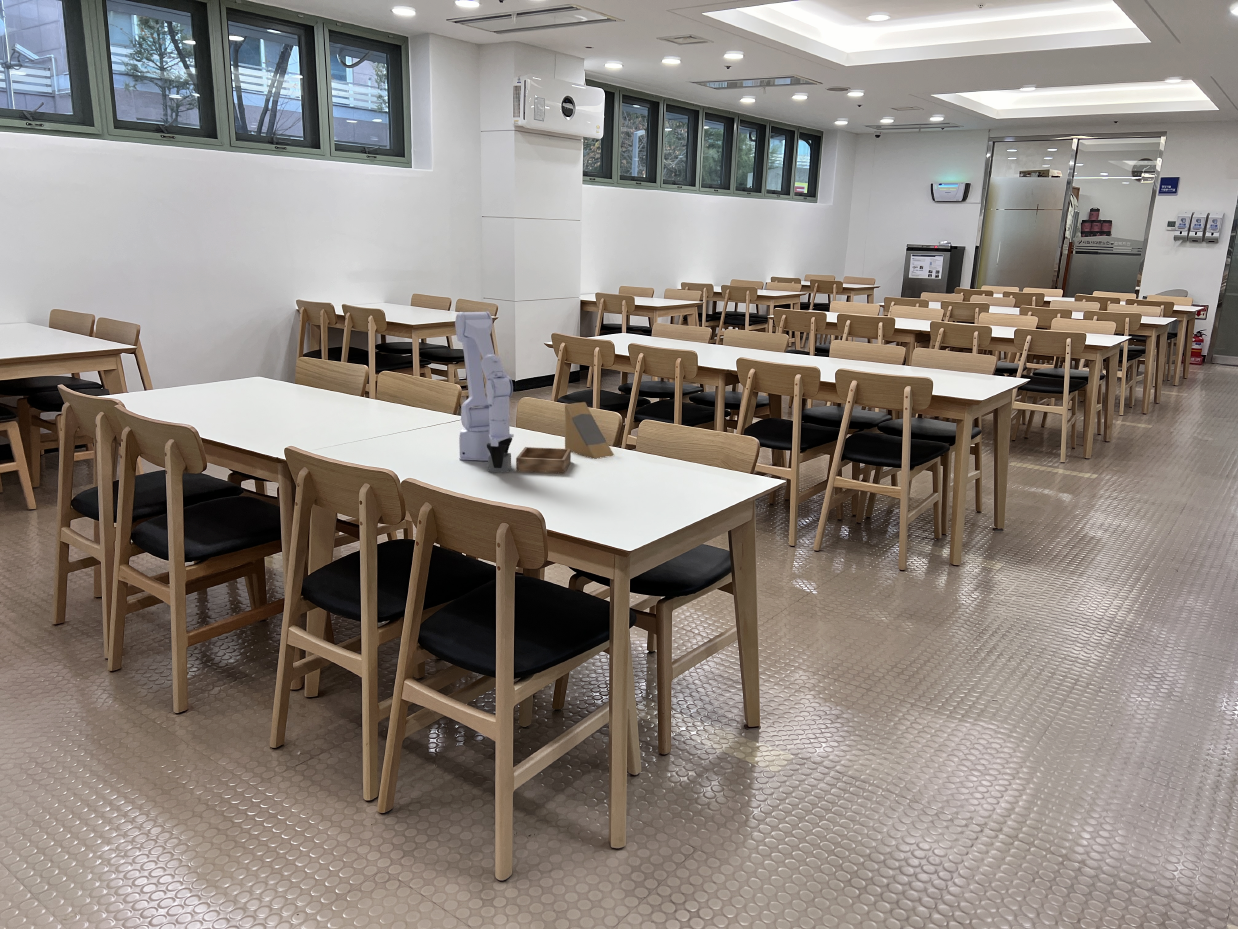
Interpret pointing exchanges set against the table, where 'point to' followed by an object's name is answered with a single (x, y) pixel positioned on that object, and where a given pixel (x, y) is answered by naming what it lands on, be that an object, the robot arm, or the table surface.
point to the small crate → (505, 465)
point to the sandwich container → (584, 432)
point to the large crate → (543, 460)
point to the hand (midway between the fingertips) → (499, 465)
